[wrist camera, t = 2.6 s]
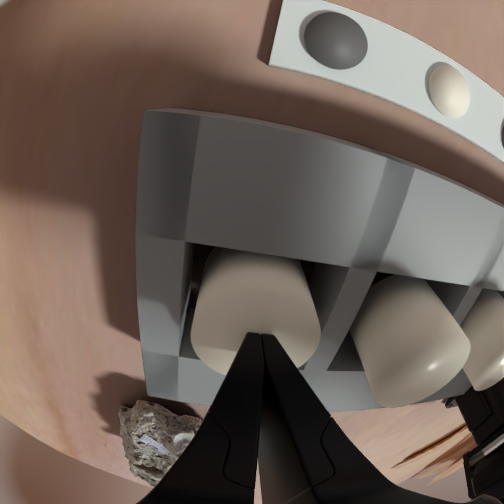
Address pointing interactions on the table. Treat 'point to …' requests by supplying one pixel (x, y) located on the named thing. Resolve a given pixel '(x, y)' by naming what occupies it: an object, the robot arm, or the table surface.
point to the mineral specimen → (154, 438)
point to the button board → (297, 238)
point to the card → (388, 68)
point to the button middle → (407, 341)
